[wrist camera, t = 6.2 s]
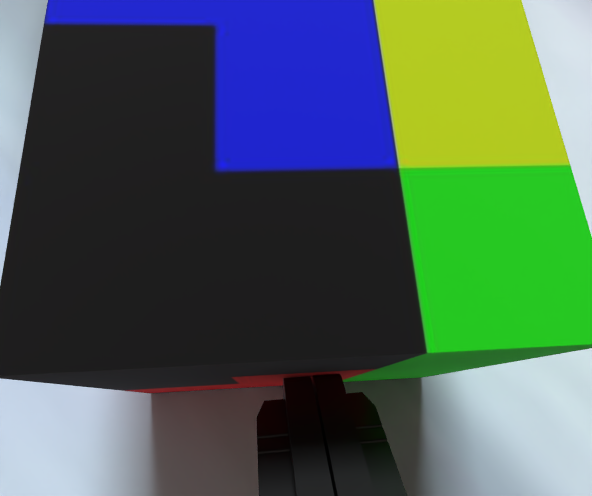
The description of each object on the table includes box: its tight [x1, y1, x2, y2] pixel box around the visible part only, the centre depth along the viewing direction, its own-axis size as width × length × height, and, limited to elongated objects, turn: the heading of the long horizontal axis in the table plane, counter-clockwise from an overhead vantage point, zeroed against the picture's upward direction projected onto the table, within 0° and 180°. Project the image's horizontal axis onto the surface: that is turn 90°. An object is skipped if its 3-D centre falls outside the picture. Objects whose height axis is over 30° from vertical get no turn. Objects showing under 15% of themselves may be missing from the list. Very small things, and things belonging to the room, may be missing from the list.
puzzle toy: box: [0, 0, 592, 393], centre depth 13 cm, size 10×10×10 cm
